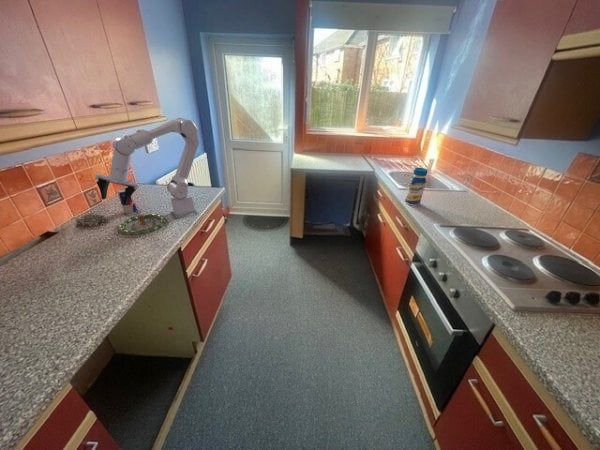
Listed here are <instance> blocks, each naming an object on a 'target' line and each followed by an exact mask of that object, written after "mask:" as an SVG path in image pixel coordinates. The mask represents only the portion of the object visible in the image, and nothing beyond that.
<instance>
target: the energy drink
mask: <svg viewBox="0 0 600 450" xmlns="http://www.w3.org/2000/svg"><path fill="white" fill-rule="evenodd" d="M125 188H126V187H125ZM125 188H119V189H118V190H117V195H118V198H119V201H120V204H121V207H122V210H123V213H124V214H126V215H127V214H129V215H130V214H134V213H136V212H137V211H138V208H137V205H136V201H135V198H134V195H133V194H132V195H131V197H130V199H129V201H128V203H127V204H124V198H125Z"/></svg>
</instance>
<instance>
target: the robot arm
mask: <svg viewBox="0 0 600 450" xmlns="http://www.w3.org/2000/svg"><path fill="white" fill-rule="evenodd" d="M198 131H199V128H198V127H197V124H195V122H194V121H192V120H191V119H186V118H183V117H178V118H176V119H171V120H168V121H166V122H165V123H161V124H160V125H158V126H156V127H153V128H151V129H149V130H146V129H144V128H143V129H140V128H137V129H135V131H134V132H132V133H130V134H123V137H120V136H119V137H116V138H115V139H114V140H113V142H112V146H113V148H114V149H113V153H112V158H111V163H110V164H111V165H110V171H109V175H105V174H100V173H96V174H95V176H94V180H96V184H97V187H98V189H99V191H100V197H101V198H100V199H101V200H102V201H103V200H106V199H107V197H108V196H107V195H108V189H109V186H110V183H111V184H114V185H119V186H123V187H125V198H124V204H127V203H128V201H129V199H130V197H131V195H133V194H134V193H135V192H136V191H137V190H139V189H140V184H139V183H136V182H133V181H129V180H128V176H129V172H130V171H129V170H130V166H131V165H130V164H131V158H132V155H133V153H135V150H138V149H141V148H143V147H146V146H148V145H150V144H152V143H153V140H154V139H156V138H159V137H161V136H164V135H168V134H169V133H176V134H179V135H180V136H181V137H182V139H183V140H184V142H185V144H184V146H183V150H182V153H181V155H180V158H179V161H178V165H177V168H176V171H175V174H174V175H173V176H172V177H171V179H170V181H169V182H168V183H167V185H166V189H167V192H169V193H170V196H169V197H170V202H171V206H172V211H173V215H177V216H182V215H186V214H189V213H194V212H196V208H195V207H196V206H195V204H194V199H193V196H192V194H189V190H188V188H189V182H188V178H189V175H190V173H191V169H192V166H193V163H194V161H195V157H196V154H197V151H198V148H199V145H200V139H199V134H198Z"/></svg>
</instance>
